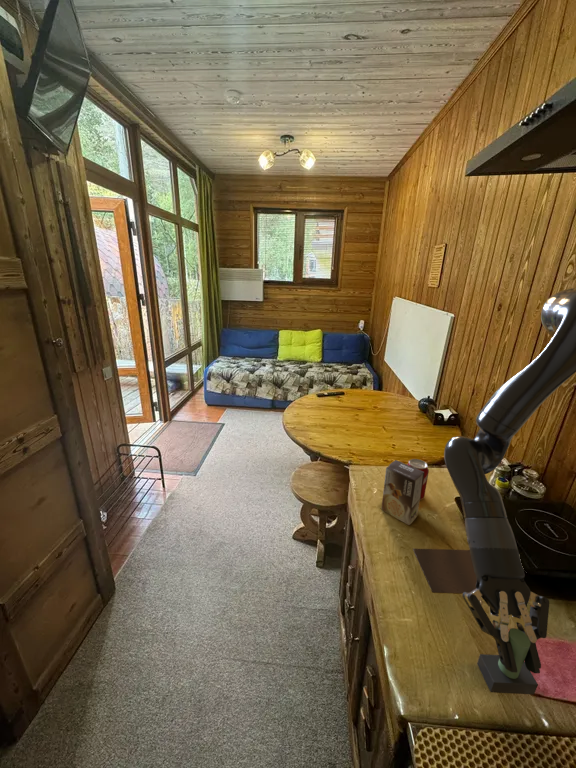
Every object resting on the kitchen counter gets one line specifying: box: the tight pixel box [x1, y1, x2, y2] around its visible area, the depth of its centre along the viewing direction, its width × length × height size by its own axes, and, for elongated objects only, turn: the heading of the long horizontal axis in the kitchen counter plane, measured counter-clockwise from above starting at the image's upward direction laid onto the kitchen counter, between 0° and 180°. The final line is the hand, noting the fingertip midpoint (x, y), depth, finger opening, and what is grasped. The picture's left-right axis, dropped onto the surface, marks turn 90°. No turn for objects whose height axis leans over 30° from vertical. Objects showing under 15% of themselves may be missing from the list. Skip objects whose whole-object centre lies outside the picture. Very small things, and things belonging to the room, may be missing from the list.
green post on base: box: [476, 627, 539, 696], centre depth 50 cm, size 4×7×10 cm, turn 88°
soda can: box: [406, 458, 430, 501], centre depth 100 cm, size 7×7×12 cm
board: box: [412, 547, 477, 594], centre depth 74 cm, size 18×12×2 cm, turn 89°
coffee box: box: [381, 459, 424, 526], centre depth 90 cm, size 9×6×16 cm
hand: (522, 670), depth 48 cm, fingers closed on green post on base, 3 cm apart
